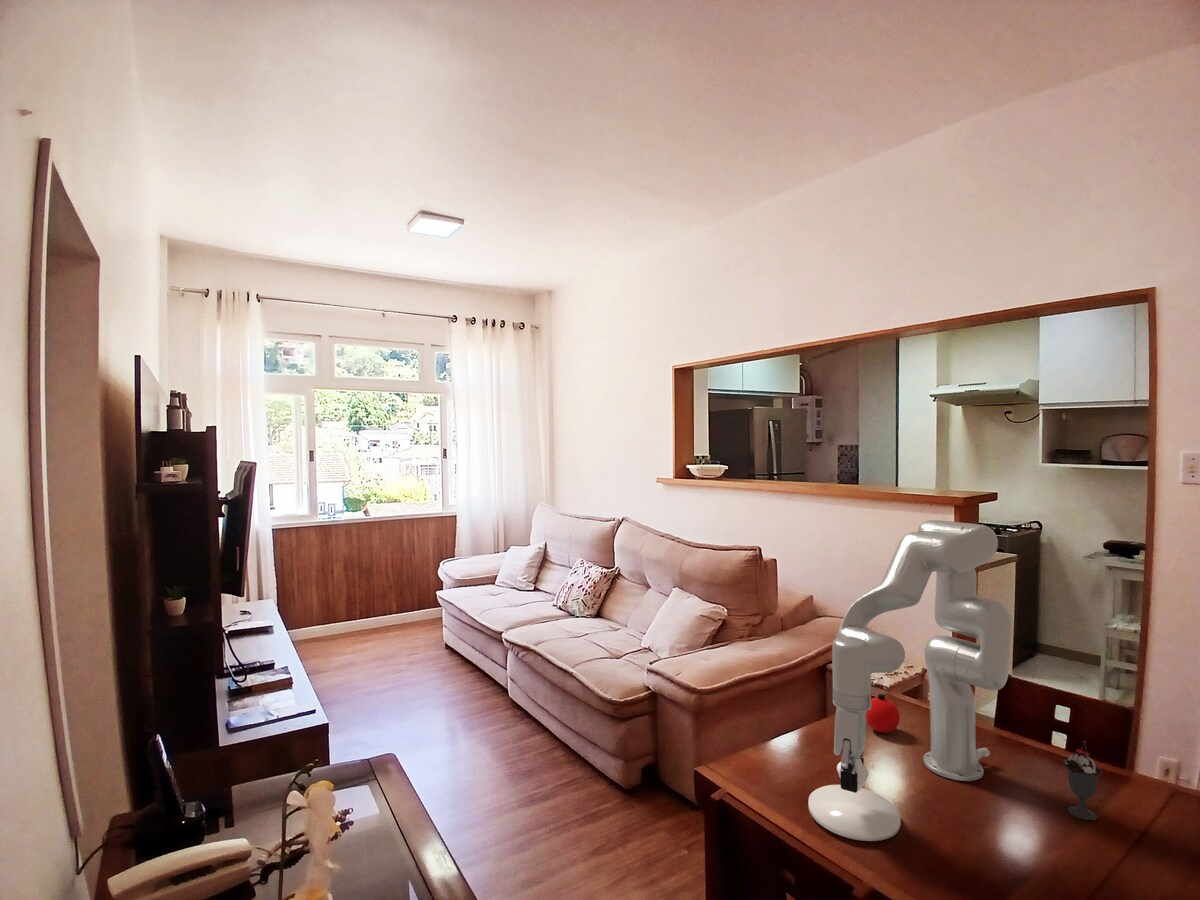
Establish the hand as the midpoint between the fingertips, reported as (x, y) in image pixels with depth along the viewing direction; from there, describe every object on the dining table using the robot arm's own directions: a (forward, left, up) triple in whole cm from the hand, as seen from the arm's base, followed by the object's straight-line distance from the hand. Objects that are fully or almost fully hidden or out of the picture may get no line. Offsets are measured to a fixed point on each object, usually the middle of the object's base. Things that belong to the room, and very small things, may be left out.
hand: (852, 781), depth 130 cm
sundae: (-46, +15, -8) cm, 49 cm away
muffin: (0, 0, -1) cm, 1 cm away
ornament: (-34, -29, -8) cm, 45 cm away
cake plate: (0, 0, -8) cm, 8 cm away
